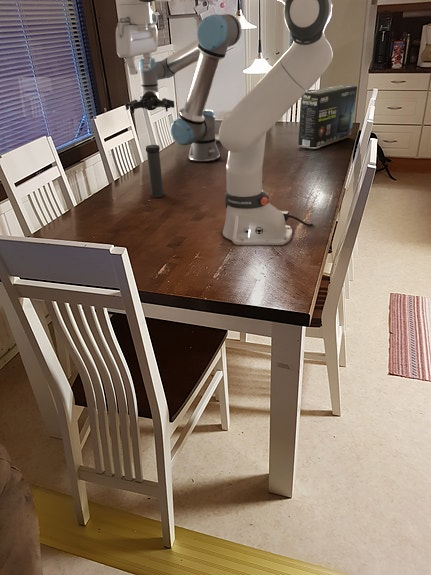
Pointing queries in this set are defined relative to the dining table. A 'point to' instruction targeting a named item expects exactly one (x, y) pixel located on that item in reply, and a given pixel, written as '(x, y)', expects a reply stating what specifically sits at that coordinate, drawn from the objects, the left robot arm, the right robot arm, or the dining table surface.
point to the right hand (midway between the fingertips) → (140, 72)
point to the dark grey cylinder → (155, 174)
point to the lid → (152, 148)
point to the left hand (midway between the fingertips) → (149, 108)
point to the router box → (326, 115)
